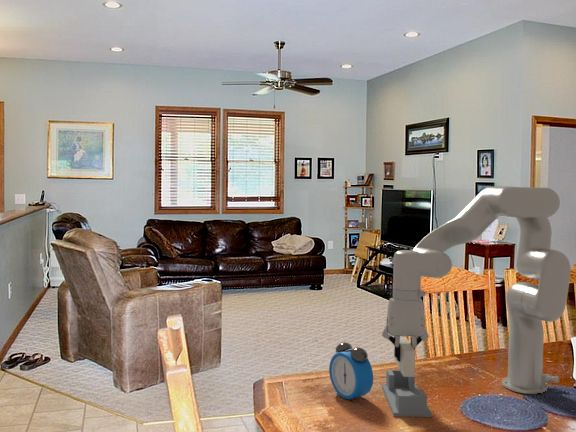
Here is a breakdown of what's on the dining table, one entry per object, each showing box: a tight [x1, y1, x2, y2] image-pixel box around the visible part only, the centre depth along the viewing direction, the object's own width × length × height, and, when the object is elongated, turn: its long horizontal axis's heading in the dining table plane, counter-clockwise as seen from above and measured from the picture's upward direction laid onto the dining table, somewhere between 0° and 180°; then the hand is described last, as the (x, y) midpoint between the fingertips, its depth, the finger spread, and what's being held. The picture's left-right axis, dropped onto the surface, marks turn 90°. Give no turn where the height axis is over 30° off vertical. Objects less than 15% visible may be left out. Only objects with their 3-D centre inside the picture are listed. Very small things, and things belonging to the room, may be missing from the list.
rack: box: [381, 369, 433, 418], centre depth 155 cm, size 10×21×6 cm, turn 179°
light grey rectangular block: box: [394, 336, 416, 378], centre depth 154 cm, size 3×14×7 cm, turn 179°
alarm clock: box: [328, 341, 374, 403], centre depth 158 cm, size 13×6×15 cm, turn 34°
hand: (404, 359), depth 154 cm, fingers closed on light grey rectangular block, 2 cm apart
